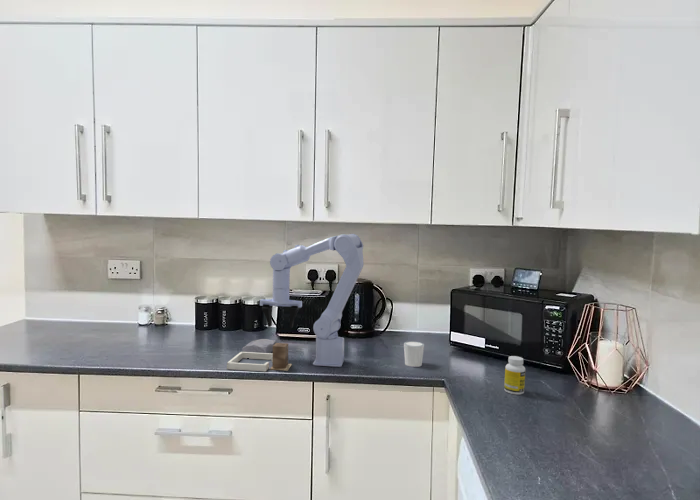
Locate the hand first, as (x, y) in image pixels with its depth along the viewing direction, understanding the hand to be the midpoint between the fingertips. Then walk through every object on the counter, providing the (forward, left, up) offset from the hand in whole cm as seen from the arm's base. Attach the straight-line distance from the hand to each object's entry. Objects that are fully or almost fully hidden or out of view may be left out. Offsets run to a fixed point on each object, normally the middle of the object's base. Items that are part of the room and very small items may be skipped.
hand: (280, 326), depth 156 cm
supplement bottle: (-74, +20, -11) cm, 77 cm away
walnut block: (-3, +12, -10) cm, 16 cm away
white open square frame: (+6, +10, -10) cm, 16 cm away
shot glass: (-46, 0, -11) cm, 47 cm away
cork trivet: (-4, +12, -10) cm, 16 cm away
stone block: (+9, -5, -11) cm, 15 cm away
